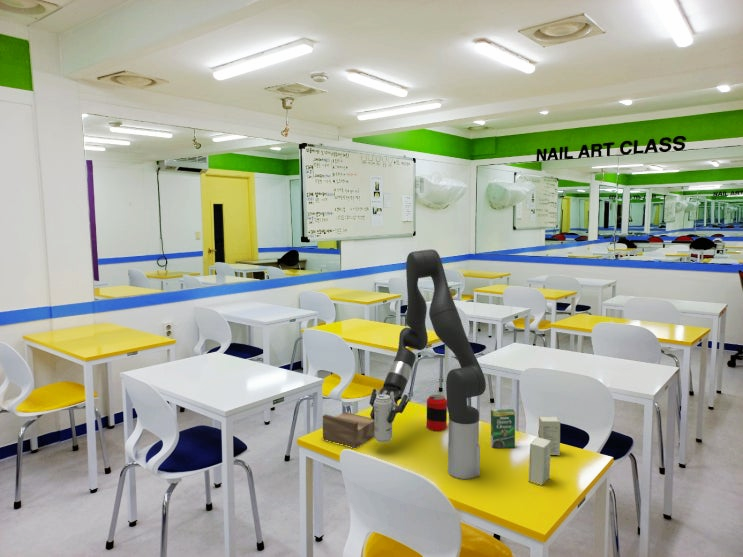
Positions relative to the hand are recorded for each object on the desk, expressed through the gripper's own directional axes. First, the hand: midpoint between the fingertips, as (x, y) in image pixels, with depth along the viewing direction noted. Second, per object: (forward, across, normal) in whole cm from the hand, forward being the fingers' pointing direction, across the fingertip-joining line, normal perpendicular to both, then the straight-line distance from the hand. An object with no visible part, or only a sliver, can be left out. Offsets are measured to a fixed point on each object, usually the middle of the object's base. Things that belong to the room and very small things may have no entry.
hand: (380, 420), depth 173 cm
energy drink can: (+4, 0, +6) cm, 8 cm away
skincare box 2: (+2, +50, +16) cm, 52 cm away
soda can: (-13, +6, +30) cm, 33 cm away
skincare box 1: (-13, +48, +30) cm, 58 cm away
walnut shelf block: (+4, -16, +12) cm, 20 cm away
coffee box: (-11, +33, +28) cm, 45 cm away
